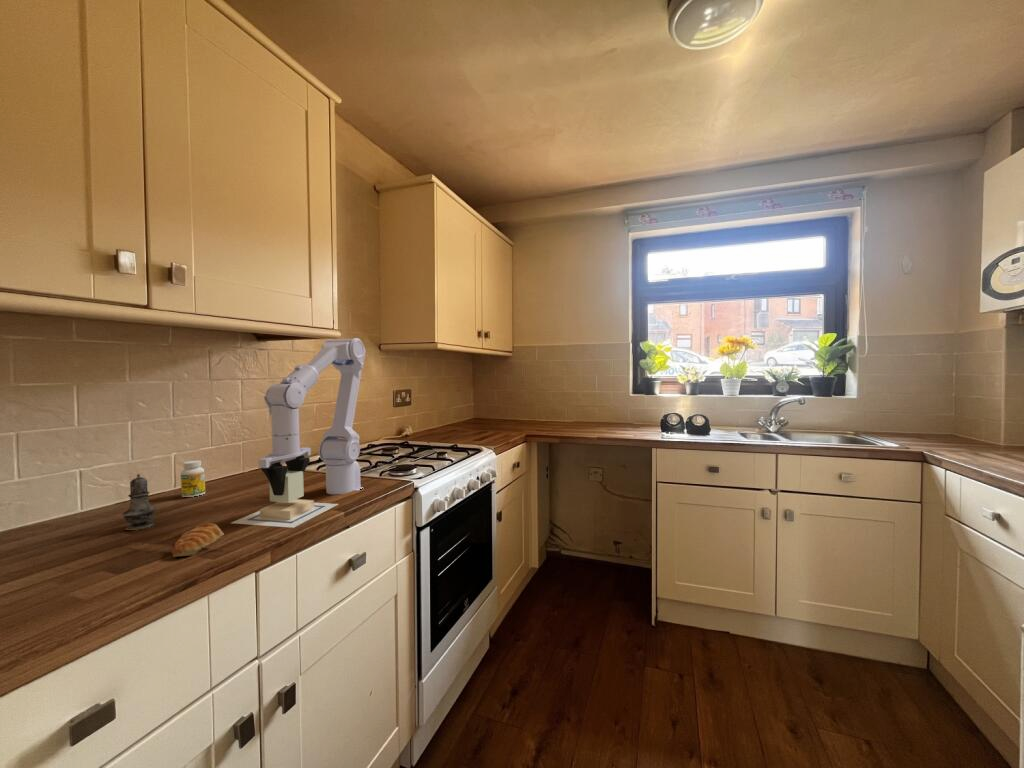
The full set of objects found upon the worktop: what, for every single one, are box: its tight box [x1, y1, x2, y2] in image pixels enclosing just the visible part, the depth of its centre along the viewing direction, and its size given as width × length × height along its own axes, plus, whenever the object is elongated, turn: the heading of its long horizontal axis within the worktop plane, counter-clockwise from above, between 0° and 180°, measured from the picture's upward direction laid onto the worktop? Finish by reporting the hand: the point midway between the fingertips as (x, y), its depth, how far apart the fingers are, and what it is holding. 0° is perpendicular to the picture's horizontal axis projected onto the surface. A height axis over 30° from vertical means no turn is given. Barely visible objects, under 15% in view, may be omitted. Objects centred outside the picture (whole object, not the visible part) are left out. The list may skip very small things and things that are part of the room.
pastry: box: [171, 522, 225, 558], centre depth 81 cm, size 9×7×4 cm
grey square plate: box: [230, 502, 339, 529], centre depth 98 cm, size 16×16×1 cm
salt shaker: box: [121, 473, 158, 530], centre depth 93 cm, size 6×6×12 cm
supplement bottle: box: [180, 460, 206, 498], centre depth 117 cm, size 5×5×10 cm
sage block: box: [268, 470, 305, 503], centre depth 98 cm, size 5×5×6 cm
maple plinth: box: [259, 498, 315, 520], centre depth 98 cm, size 8×8×2 cm
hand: (287, 491), depth 98 cm, fingers closed on sage block, 5 cm apart
